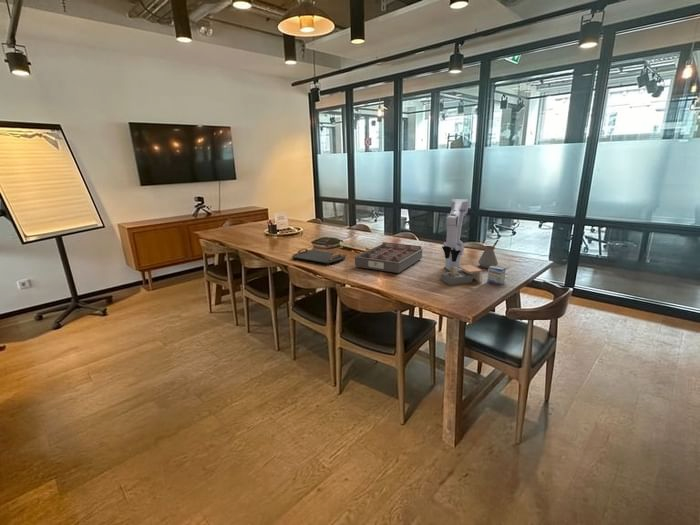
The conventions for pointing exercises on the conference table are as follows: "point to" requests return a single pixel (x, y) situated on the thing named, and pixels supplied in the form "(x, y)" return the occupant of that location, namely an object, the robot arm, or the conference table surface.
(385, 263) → the organizer tray
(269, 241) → the conference table surface
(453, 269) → the peg
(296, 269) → the conference table surface
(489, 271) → the medicine box
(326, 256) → the serving board
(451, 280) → the socket block
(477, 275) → the peach slab
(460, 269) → the robot arm
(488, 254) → the coffee pot
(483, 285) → the conference table surface
